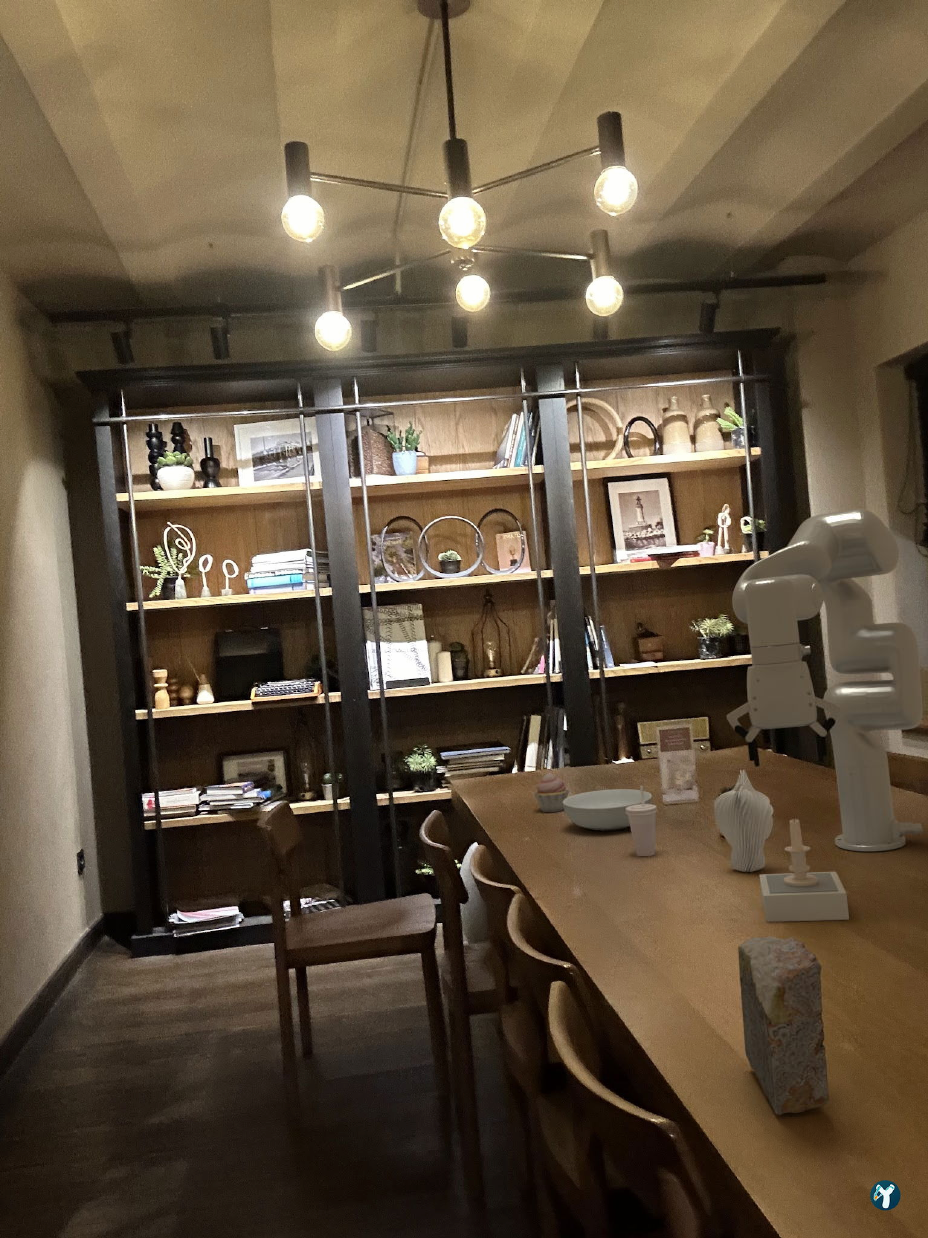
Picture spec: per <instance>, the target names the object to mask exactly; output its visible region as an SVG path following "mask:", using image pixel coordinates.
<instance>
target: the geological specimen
mask: <svg viewBox="0 0 928 1238" xmlns="http://www.w3.org/2000/svg"><path fill="white" fill-rule="evenodd" d="M737 949H738V952H737V954H738V969H739V982H740V983H739V984H740V999H741V1008H742V1009H741V1011H742V1023H743V1040H744V1053H745V1056H746V1058H747V1060H748V1063H749V1065H750V1068H751V1069H752V1070H753V1071H754V1074H755V1075H756V1077H757V1079H758V1081H759V1084H760V1085H761V1087H762V1091H763V1093H764V1094H765V1095H766V1096H767V1097H766V1098H767V1099H768V1102H769V1103H770V1105H771V1107H772V1108H773V1111H774V1113H775V1115H781V1116H782V1115H784V1114H787V1113H792V1114H799V1113H802V1112H805V1111H807V1110H811V1109H817V1108H819V1107H823V1106H825V1105H828V1103H829V1101H830V1099H829V1098H830V1096H829V1082H828V1074H827V1073H828V1067H827V1066H828V1065H827V1059H826V1046H825V1045H824V1041H825V1032H824V1029H825V1028H824V1027H825V1026H824V1022H823V1016H822V1015H823V1014H822V1013H823V1012H824V1011H823V1003H822V1001H823V999H822V998H823V995H822V982H821V981H822V979H821V971H822V966H821V964H820V962H819V959H818V958H817V956H816V955H815V953H813V952H812V951H811V950H809V949H807V948H806V945H805V943H804V942H803V941H799V940H798V939H796V938H795V937H792V936H791V937H789V938H786V939H784V938H778V937H775V936H766V937H752V938H751V937H750V938H749V939H747V940H745V941H744V942H742V943H741V944H740V945H738V946H737Z"/></svg>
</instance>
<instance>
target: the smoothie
mask: <svg viewBox="0 0 928 1238" xmlns="http://www.w3.org/2000/svg"><path fill="white" fill-rule="evenodd" d="M639 789H640V791H641V800H642V804H639V805H632V806H629V807H627V808H626V814H628V819H629V823H630V826H629V827H630V831H631V836H632V840H633V843H634V844H633V845H634V849H635V853H636V856H637V857H640V856H648V857H652V855H653V856H655V855H656V821H657V820H656V817H657V816H656V815H657V814H656V813H657V812H658V809H657V805H656V804H645V802H644V793H643V791H644V786H643V785H640V786H639Z"/></svg>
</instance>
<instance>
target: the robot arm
mask: <svg viewBox="0 0 928 1238" xmlns="http://www.w3.org/2000/svg"><path fill="white" fill-rule="evenodd" d="M899 557H900V551H899V546H898V543H897V540H896V538H895V536H894V534H893V533H892V532H891V530H890V529H889V528H888V527H887V525H885V523H884V522H883V520H881V518H880V517H879V516H877V515H876V513H873V512H872V511H870V510H868V509H864V508H855V509H849V510H843V511H837V512H828V513H821V514H817V515H814V516H811V517H808V518H807V519H806V520H804V521H803V522H802V523H801V524H800V526H798V528H797V530H796V531H795V533H794V535H793V536H792V538H791V539H790V541H789V542H788V544H787V546H786V547H783V548H780V549H779V550H777V551H775V552H773V553H772V554H769V555H768V556H766V557H763V558H762V559H760V560H758V561H756V562H754V563H752V564H751V565H750V566H749V567H747V568H746V569H745V571H743V573H742V575H741V576H740V577H739V579H738V581H737V582H736V585H735V587H734V590H733V593H732V599H731V601H732V602H731V603H732V610H733V612H734V614H735V616H736V618H737V619H738V620H739V621H740V622H742V623H744V624H747V630H748V637H749V646H750V647H749V649H750V655H751V664H752V665H751V666H748V667H747V672H746V692H747V702H745V703H744V704H743V705H742V704H741V706H739V707H738V708H736V709H734V710H733V711H731V712H729V713H728V714H726V720H727V721H728V722H729V724H730V726H731V728H732V729H733V731H734V732H735V733H736V734H737V735H739V736H740V737H741V738H743V739H744V740H745V741H746V742H747V750H748V751H747V752H748V758H749V760H748V761H749V762H753V763H754V767H755V768H757V767H759V766H760V765H761V764H760V757H759V748H758V747H759V745H758V741H757V740H756V737H757V735H758V734H759V732H760V731H761V730H771V729H773V730H774V729H783V728H796V727H797V728H798V727H805V726H806V727H808V726H809V727H810V728H811V729H812V730H813V731H815V735H813V738H814V746H815V755H816V757H815V758H816V760H817V761H818V762H819V763H824V757H827V756H828V752H827V751H828V749H827V743H826V736H827V735H828V733H830V737H831V742H832V749H833V756H834V764H835V773H836V783H837V784H836V785H837V790H838V791H837V792H838V800H839V810H840V819H841V829H842V833H841V834H839V835H837V836H836V837H835V838H834V842H835V845H836V847H838V848H841V849H844V850H849V851H853V852H855V851H856V852H884V851H892V850H895V849H896V850H897V849H899V848H902V847H904V846H905V845H906V836H905V835H907V834H912V835H916V834H918V835H920V834H921V835H922V834H923V832H924V831H923V825H922V823H921V822H916V823H913V822H912V821H910V822H909V821H908V822H907V821H906V822H899V821H898V820H897V819H896V817H895V815H894V808H893V807H894V805H893V798H892V797H893V795H892V787H891V780H890V779H891V778H890V769H889V761H888V754H887V751H886V749H885V747H884V745H883V743H881V741H880V740H879V739H878V738H877V737H876V736H875V734H873V733H872V732H873V731H899V730H901V731H902V730H913V729H915V728H916V727H918V726H919V725H920V724H921V722H922V719H923V712H924V711H923V694H922V682H921V680H922V679H921V670H920V669H921V667H920V655H919V647H918V646H919V645H918V641H917V637H916V635H915V632H914V631H913V630H912V628H911V627H910V626H909V625H908V624H905V623H902V622H884V623H875V622H874V612H873V602H872V601H873V600H872V598H871V596H870V595H869V593H868V592H867V591H866V590H865V589H864V588H863V587H862V585H860V584H859V583H858V582H856V580H854V579H857V578H866V577H874V576H883V575H886V574H890V573H891V572H893V571H895V569H896V568H897V565H898V563H899V560H900V559H899ZM853 578H854V579H853ZM823 604H824V605H825V614H826V629H827V640H828V641H827V643H828V644H827V645H828V647H827V648H828V656H829V661H830V662H829V663H830V665H831V668H832V669H833V670H834V671H835V672H836V673H839V674H842V675H865V674H866V675H867V674H885V673H886V674H890V675H891V676H892V679H880V680H871V679H870V680H857V681H856V680H855V681H853V680H852V681H844V682H838V683H836V684H834V685H831V686H830V687H829V688H828V689H827V690H825V692H824V696H823V699H822V698H821V697H820V698H819V697H817V696H815V692H814V691H815V690H814V686H813V681H812V677H811V674H810V673H811V672H810V669H809V667H808V664H807V661H803V657H804V656H806V655H811V646H810V645H803V643H802V644H801V643H800V632H799V627H798V626H799V625H798V621H804V620H808V619H811V618H814V617H815V616H816V615H818V614H819V612H820V611H821V609H822V607H823ZM817 707H819V708H821V709H823V710H824V715H825V717H826V719H825V720H824V721H823V722H822V723H819V722H818V721H817V720H818V710H817ZM747 713H748V717H749V722H750V723H751V725H750V727H749V728H748V730H747V729H746V728H745V727H743V726H742V725H741V724H740V722H739V721H738V719H739V718H740V717H743V716H744V715H746V714H747Z"/></svg>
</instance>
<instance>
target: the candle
mask: <svg viewBox="0 0 928 1238" xmlns="http://www.w3.org/2000/svg"><path fill="white" fill-rule="evenodd" d="M789 835H790V843H791V845H790V846H786V847H785V848H784V851H786V852H789V853H790V857H791V858H790V860H791V865H789V867H788V870H789V871H790V872H793V873H794V875H791V876H787V877H785V878H784V883H785V884H786V885H789V886H794V887H807V886H813V885H816V884H817V883H818V878H817V877H815V876H812V875H807V873H808V872H809V871H810V870H811V865H808V864H807V857H806V852H807V851H810V850H811V847H810V846H807V845H804V844H803V838H802V830H801V822H800V820H799V819H798V818H795V817H793V819H790V820H789Z"/></svg>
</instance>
